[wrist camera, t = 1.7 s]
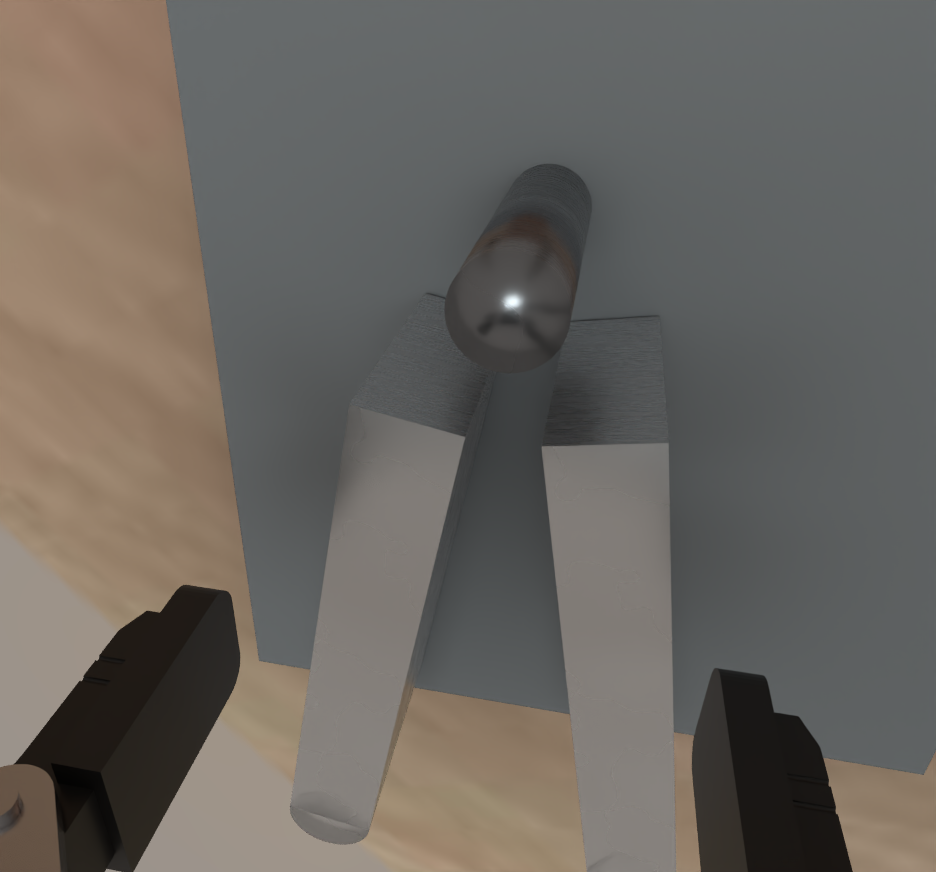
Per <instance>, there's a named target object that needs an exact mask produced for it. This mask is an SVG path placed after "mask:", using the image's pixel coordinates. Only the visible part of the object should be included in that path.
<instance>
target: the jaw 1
mask: <svg viewBox="0 0 936 872" xmlns="http://www.w3.org/2000/svg"><path fill="white" fill-rule="evenodd" d="M444 307H445V298H441V297H437V296H434V295H430V294H426V293H425V294H424V296H423V297H422V299H421V300H420V302H419V303H418V305H417V306H416V308H415V309H414V311H413V312H412V313H411V315H410V316H409V318H408V319H407V321H406V322H405V324H404V325H403V327H402V328H401V330H400V331H399V332H398V334H397V335H396V337H395V338H394V340H393V341H392V343H391V344H390V346H389V347H388V349H387V350H386V351H385V353H384V354H383V356H382V357H381V359H380V360H379V362H378V363H377V365H376V366H375V368H374V369H373V371H372V372H371V373H370V375H369V376H368V378H367V379H366V381H365V382H364V384H363V385H362V387H361V388H360V390H359V391H358V392H357V394H356V395H355V397H354V398H353V400H352V401H351V403H350V404H349V410H348V416H347V423H346V430H345V437H344V444H343V450H342V457H341V464H340V471H339V478H338V484H337V491H336V498H335V505H334V512H333V519H332V525H331V532H330V539H329V546H328V553H327V559H326V566H325V573H324V580H323V587H322V593H321V600H320V607H319V614H318V621H317V627H316V634H315V641H314V648H313V655H312V662H311V668H310V675H309V682H308V689H307V696H306V702H305V709H304V716H303V723H302V730H301V736H300V743H299V750H298V757H297V764H296V770H295V777H294V784H293V791H292V798H291V806H290V812H291V815H292V818H293V819H294V821H295V822H296V823H297V825H298V826H299V827H300V828H301V829H303V830H304V831H305V832H306V833H308V834H310V835H311V836H313V837H315V838H317V839H320V840H322V841H325V842H329V843H334V844H353V843H356V842H359V841H361V840H362V839H364V838H365V837H366V836H367V834H368V832H369V829H370V825H371V822H372V819H373V816H374V813H375V810H376V806H377V803H378V800H379V797H380V794H381V791H382V787H383V784H384V781H385V778H386V775H387V772H388V768H389V765H390V762H391V759H392V756H393V753H394V749H395V746H396V743H397V740H398V737H399V734H400V730H401V727H402V724H403V721H404V718H405V714H406V711H407V708H408V705H409V702H410V699H411V695H412V692H413V689H414V686H415V683H416V680H417V676H418V673H419V670H420V667H421V664H422V660H423V656H424V652H425V648H426V645H427V641H428V637H429V633H430V629H431V625H432V621H433V617H434V613H435V609H436V606H437V602H438V598H439V594H440V590H441V586H442V582H443V578H444V574H445V570H446V567H447V563H448V559H449V555H450V551H451V547H452V543H453V539H454V535H455V531H456V528H457V524H458V520H459V516H460V512H461V508H462V504H463V500H464V496H465V492H466V489H467V485H468V481H469V477H470V473H471V469H472V465H473V461H474V457H475V453H476V450H477V446H478V442H479V438H480V434H481V430H482V426H483V422H484V418H485V414H486V411H487V407H488V403H489V399H490V395H491V391H492V387H493V383H494V379H495V375H496V372H495V371H492V370H488V369H486V368H483V367H481V366H479V365H477V364H476V363H474V362H472V361H471V360H470V359H468V358H467V357H466V356H465V355H464V354H463V353H462V352H461V351H460V350H459V349H458V347H457V346H456V345H455V343H454V342H453V340H452V338H451V336H450V334H449V332H448V329H447V326H446V321H445V313H444Z"/></svg>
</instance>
